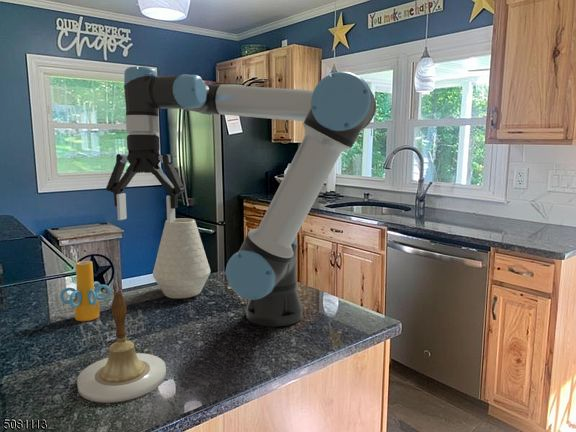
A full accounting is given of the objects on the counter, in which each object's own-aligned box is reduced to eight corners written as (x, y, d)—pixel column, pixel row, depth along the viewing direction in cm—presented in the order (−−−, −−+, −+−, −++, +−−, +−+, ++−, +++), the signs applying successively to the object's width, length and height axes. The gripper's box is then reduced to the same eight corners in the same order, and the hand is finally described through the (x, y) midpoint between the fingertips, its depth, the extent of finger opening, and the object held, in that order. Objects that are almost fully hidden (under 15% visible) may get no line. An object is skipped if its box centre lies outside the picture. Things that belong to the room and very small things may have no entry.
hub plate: (180, 364, 91) (180, 357, 90) (137, 408, 75) (136, 399, 75) (112, 356, 94) (111, 349, 94) (57, 395, 79) (57, 387, 78)
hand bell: (135, 383, 80) (132, 299, 78) (91, 381, 80) (86, 298, 78) (151, 362, 88) (148, 285, 86) (111, 360, 89) (107, 284, 86)
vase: (190, 281, 149) (188, 214, 146) (222, 293, 137) (220, 220, 134) (143, 292, 137) (139, 220, 133) (172, 306, 125) (170, 227, 121)
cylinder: (90, 328, 109) (86, 269, 107) (53, 324, 111) (49, 267, 109) (118, 311, 121) (115, 258, 119) (85, 308, 123) (81, 256, 121)
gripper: (197, 134, 107) (199, 220, 110) (107, 135, 112) (111, 216, 115) (183, 133, 100) (185, 225, 103) (88, 133, 105) (93, 220, 108)
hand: (146, 220), depth 109 cm, fingers open, 13 cm apart
